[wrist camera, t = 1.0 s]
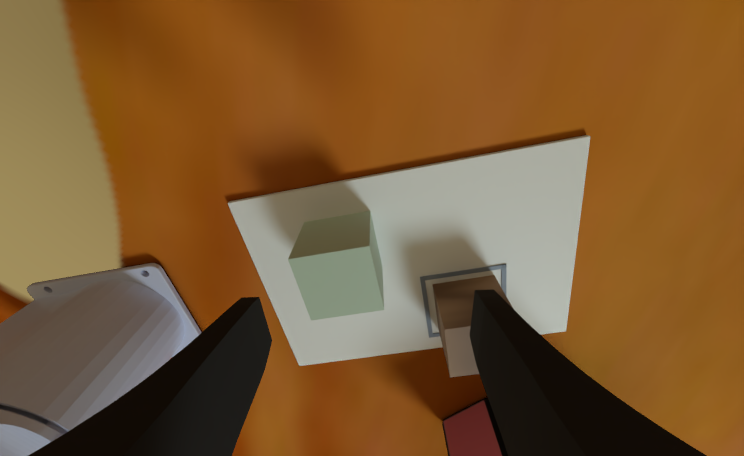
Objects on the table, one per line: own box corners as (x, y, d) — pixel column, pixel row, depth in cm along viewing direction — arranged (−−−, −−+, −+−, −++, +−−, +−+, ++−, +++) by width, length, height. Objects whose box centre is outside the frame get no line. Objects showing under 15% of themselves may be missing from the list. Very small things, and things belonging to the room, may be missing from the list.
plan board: (300, 362, 25) (299, 366, 24) (229, 201, 18) (227, 203, 18) (563, 328, 23) (566, 331, 23) (586, 135, 17) (591, 136, 16)
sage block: (321, 276, 20) (310, 320, 17) (304, 222, 19) (287, 259, 15) (382, 266, 20) (384, 309, 17) (370, 210, 18) (369, 246, 15)
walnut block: (438, 328, 23) (450, 377, 19) (432, 284, 21) (444, 329, 17) (494, 320, 22) (517, 369, 19) (494, 274, 20) (519, 319, 17)
